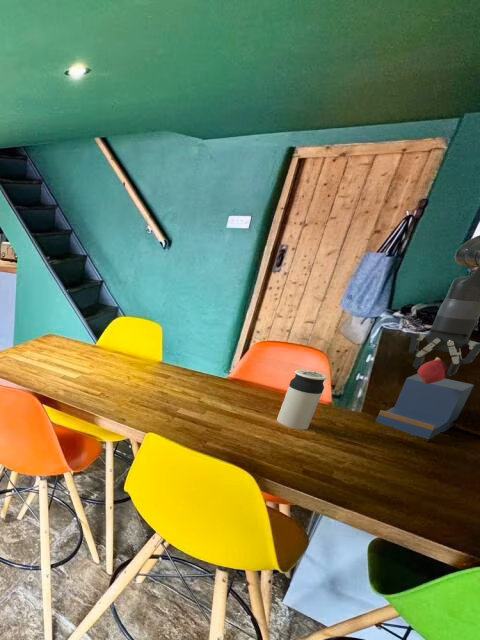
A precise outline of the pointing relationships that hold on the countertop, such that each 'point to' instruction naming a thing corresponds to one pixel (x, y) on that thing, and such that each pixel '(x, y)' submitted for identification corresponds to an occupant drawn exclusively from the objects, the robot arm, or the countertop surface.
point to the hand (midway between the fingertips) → (432, 372)
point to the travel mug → (301, 399)
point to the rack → (426, 406)
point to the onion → (432, 371)
